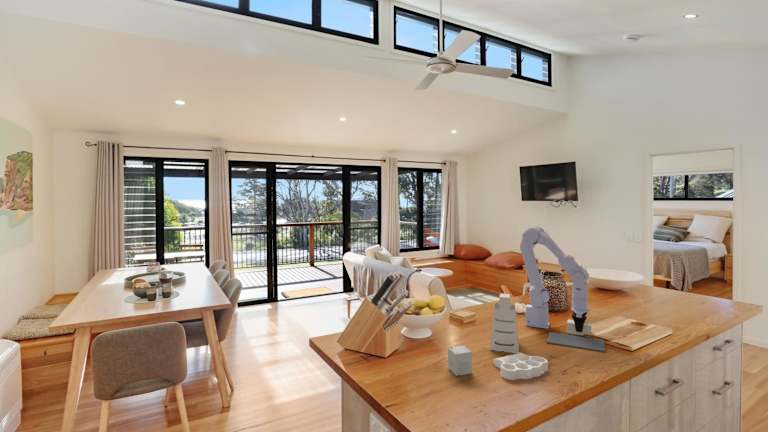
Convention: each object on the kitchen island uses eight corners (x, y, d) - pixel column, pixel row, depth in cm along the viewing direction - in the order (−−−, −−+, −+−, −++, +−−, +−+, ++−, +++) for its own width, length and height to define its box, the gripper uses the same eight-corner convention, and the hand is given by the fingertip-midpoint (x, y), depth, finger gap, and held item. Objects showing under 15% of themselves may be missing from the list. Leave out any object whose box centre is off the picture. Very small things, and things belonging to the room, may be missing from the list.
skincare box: (472, 373, 126) (472, 351, 126) (455, 376, 124) (455, 354, 124) (463, 366, 132) (463, 345, 132) (447, 368, 130) (447, 347, 130)
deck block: (567, 333, 162) (567, 322, 162) (567, 329, 166) (567, 319, 166) (591, 336, 157) (591, 325, 157) (591, 332, 162) (591, 322, 162)
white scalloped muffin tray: (524, 357, 139) (558, 374, 125) (485, 367, 131) (516, 386, 118) (525, 348, 139) (558, 364, 125) (485, 357, 131) (516, 375, 118)
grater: (518, 343, 152) (519, 293, 151) (518, 353, 142) (519, 300, 141) (491, 340, 155) (491, 291, 154) (489, 350, 145) (489, 298, 144)
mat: (546, 343, 151) (546, 341, 151) (549, 333, 162) (549, 331, 162) (604, 352, 142) (604, 350, 142) (604, 341, 152) (604, 339, 152)
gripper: (590, 303, 153) (589, 336, 153) (590, 295, 165) (590, 325, 166) (570, 301, 156) (570, 334, 157) (572, 293, 169) (572, 323, 170)
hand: (579, 329), depth 162 cm, fingers closed on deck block, 5 cm apart
